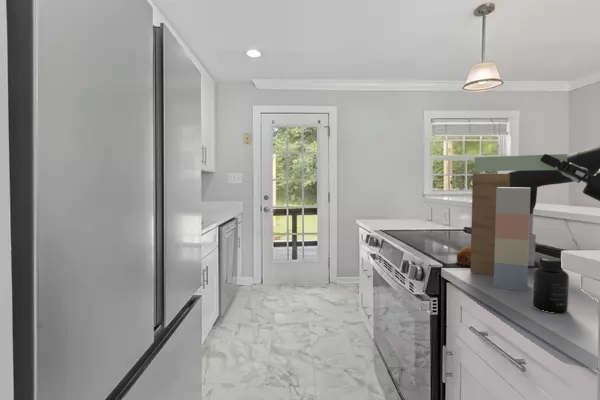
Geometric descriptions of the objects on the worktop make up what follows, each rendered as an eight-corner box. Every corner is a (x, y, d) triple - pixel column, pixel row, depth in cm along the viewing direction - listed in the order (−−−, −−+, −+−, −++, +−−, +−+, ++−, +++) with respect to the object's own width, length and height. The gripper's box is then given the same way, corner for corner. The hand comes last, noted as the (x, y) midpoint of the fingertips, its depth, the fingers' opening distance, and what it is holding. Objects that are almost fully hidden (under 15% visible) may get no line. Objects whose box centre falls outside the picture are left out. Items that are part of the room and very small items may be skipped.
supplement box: (535, 267, 129) (536, 234, 129) (516, 267, 131) (517, 234, 130) (528, 264, 135) (529, 232, 134) (510, 263, 136) (511, 231, 136)
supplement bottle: (526, 304, 93) (527, 255, 92) (552, 303, 93) (554, 255, 92) (546, 314, 86) (548, 262, 85) (575, 313, 86) (577, 261, 86)
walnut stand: (473, 267, 130) (476, 174, 128) (507, 271, 125) (510, 173, 123) (470, 272, 123) (472, 173, 121) (505, 276, 118) (508, 173, 116)
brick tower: (496, 280, 114) (499, 187, 112) (527, 284, 110) (530, 187, 108) (493, 286, 107) (496, 187, 106) (526, 291, 103) (530, 188, 101)
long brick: (476, 171, 114) (476, 157, 113) (565, 169, 102) (566, 154, 102) (474, 171, 110) (474, 157, 110) (566, 169, 99) (567, 154, 98)
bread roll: (486, 273, 137) (488, 252, 139) (484, 266, 129) (485, 244, 131) (457, 269, 142) (459, 249, 144) (453, 263, 134) (455, 241, 136)
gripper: (616, 176, 100) (550, 146, 108) (627, 176, 88) (551, 142, 96) (597, 200, 103) (533, 170, 110) (605, 203, 91) (533, 169, 98)
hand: (542, 157), depth 103 cm, fingers closed on long brick, 4 cm apart
